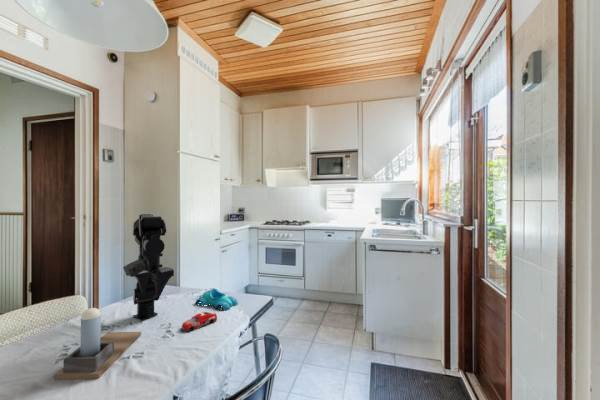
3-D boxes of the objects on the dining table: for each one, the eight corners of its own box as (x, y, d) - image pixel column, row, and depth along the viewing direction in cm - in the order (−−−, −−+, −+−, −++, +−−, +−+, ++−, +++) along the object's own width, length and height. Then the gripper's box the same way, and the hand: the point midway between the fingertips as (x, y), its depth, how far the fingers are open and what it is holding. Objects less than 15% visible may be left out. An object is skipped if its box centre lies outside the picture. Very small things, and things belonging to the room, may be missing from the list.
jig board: (107, 335, 91) (107, 322, 91) (141, 335, 92) (141, 321, 92) (53, 379, 69) (54, 361, 69) (98, 378, 70) (99, 360, 70)
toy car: (210, 297, 129) (210, 283, 129) (240, 303, 122) (241, 289, 122) (193, 305, 119) (193, 290, 119) (225, 312, 112) (225, 297, 112)
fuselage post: (79, 362, 74) (80, 308, 74) (98, 355, 77) (99, 304, 77) (80, 369, 71) (81, 313, 71) (101, 362, 74) (102, 308, 74)
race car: (185, 334, 93) (185, 323, 93) (179, 329, 97) (179, 318, 97) (219, 322, 103) (219, 311, 103) (212, 317, 107) (212, 307, 107)
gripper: (113, 252, 93) (112, 296, 93) (143, 257, 84) (142, 307, 84) (144, 247, 103) (144, 288, 102) (175, 252, 94) (174, 296, 93)
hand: (150, 294), depth 95 cm, fingers open, 9 cm apart
